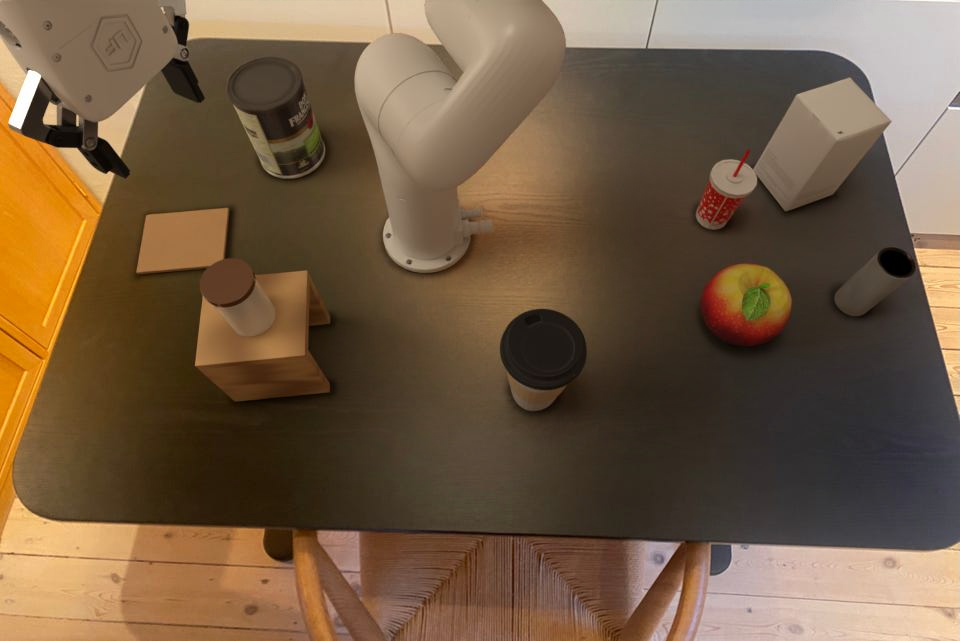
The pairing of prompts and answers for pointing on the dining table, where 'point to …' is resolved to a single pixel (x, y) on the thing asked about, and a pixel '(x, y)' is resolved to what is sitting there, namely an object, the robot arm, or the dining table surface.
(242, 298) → the bean jar
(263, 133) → the coffee can
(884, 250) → the grey hollow cylinder
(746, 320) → the fruit
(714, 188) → the beverage cup
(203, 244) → the mat
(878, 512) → the dining table surface
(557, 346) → the coffee cup
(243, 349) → the brown piece
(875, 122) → the white product box
